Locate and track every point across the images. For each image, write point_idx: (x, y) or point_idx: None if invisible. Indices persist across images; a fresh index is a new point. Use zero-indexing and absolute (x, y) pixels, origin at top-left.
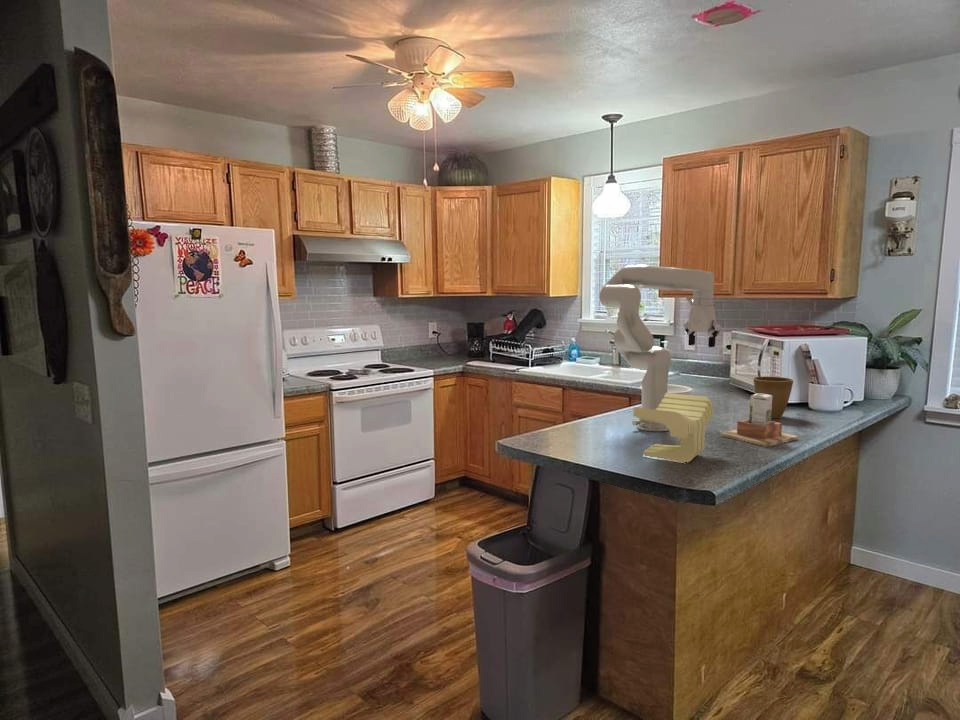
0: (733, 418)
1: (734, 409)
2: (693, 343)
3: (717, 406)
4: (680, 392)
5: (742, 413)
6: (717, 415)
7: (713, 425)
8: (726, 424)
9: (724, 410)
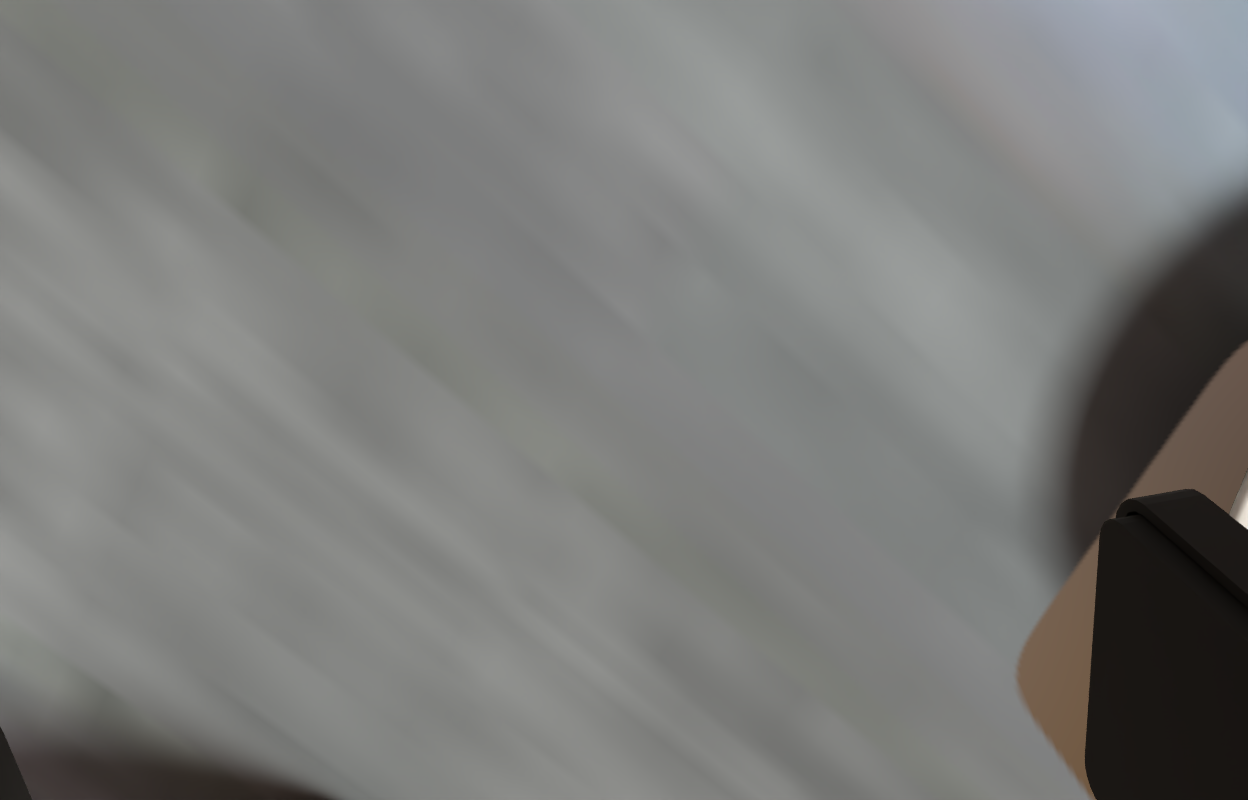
0: (397, 524)
1: (728, 796)
2: (1120, 744)
3: (913, 752)
4: (1235, 518)
5: (551, 746)
6: (591, 480)
7: (168, 63)
8: (163, 247)
9: (742, 693)
